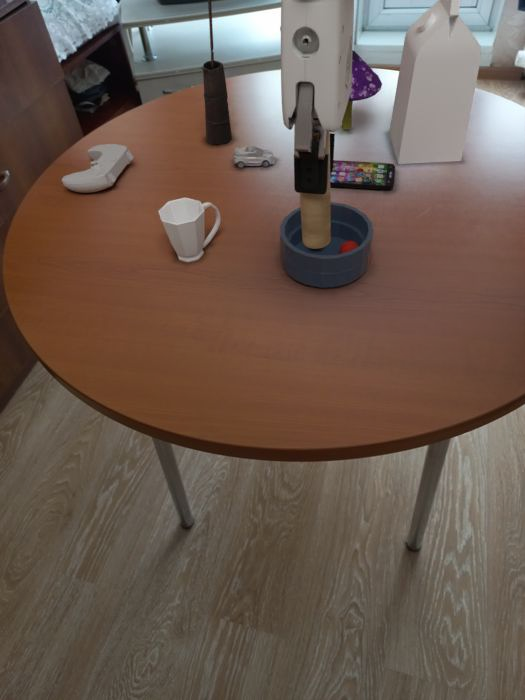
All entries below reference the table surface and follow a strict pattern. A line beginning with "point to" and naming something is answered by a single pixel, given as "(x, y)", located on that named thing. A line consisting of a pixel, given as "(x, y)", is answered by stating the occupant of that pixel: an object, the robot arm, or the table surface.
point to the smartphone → (362, 175)
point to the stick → (317, 210)
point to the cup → (187, 226)
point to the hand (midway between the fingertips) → (314, 179)
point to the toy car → (253, 157)
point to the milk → (435, 87)
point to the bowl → (327, 248)
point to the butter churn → (215, 97)
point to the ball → (348, 246)
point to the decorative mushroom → (360, 86)
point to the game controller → (100, 169)
